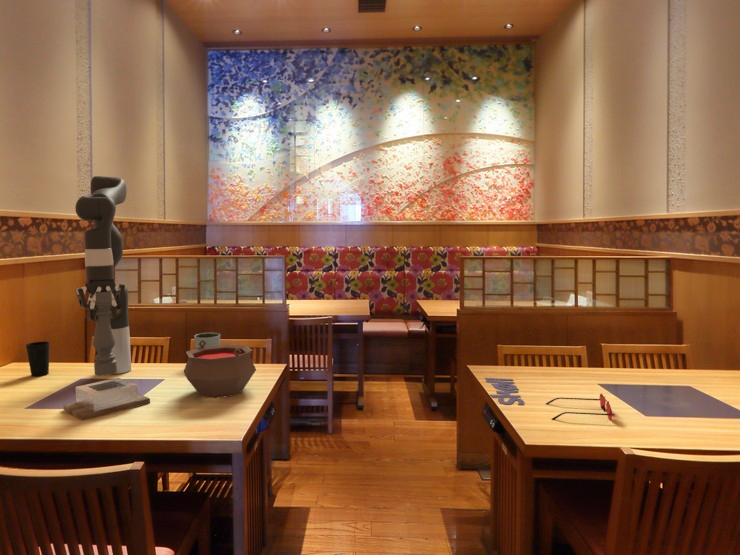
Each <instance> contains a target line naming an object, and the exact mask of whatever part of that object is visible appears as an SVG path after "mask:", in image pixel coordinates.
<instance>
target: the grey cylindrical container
mask: <svg viewBox="0 0 740 555" xmlns="http://www.w3.org/2000/svg"><path fill="white" fill-rule="evenodd" d="M193 339H194V347H195V348H194V349H197V348H200V347H201V346H200V345H199V343H200V342H201V340H202V339H203V340H204V341H205V342H206V344H205V346H214V345H221V333H219V332H201V333H197V334H195V335H193ZM201 344H202V345H203V344H204V343H203V342H202V343H201Z"/></svg>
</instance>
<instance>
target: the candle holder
mask: <svg viewBox="0 0 740 555" xmlns="http://www.w3.org/2000/svg"><path fill="white" fill-rule="evenodd" d="M94 294H95V293H94ZM94 294H93V295H91V298H93V296H94ZM95 298H96V301H95V306H94V309H95V331H94V334H93V341H92V346H93V348H94V349H95V350H96V353H97V354H96V355H95V357H94V363H93V368H94V375H95V376H109V375H115V374H114V373H116V372H117V363H116V360H114V358H115V355H114V354H113V353H112V351H113V349H112V348H113V347H114V345H115V339H114V336H113V333H112V329H111V326H110V314H111V313H112V310H110V309H109V307H110V305H111V302H112V294H111V291H108V292H107V291H105V292H97V293H96V297H95Z"/></svg>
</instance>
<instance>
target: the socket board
mask: <svg viewBox="0 0 740 555" xmlns="http://www.w3.org/2000/svg"><path fill="white" fill-rule="evenodd" d="M150 403H151V398H150V397H147V396H145V395H142V394H141V393H138V401H135V402H131V403H127V404H123V405H119V406H115V407H111V408H108V409H104V410H100V411H96V412H93V411H91V410H90V409H88V408H86V407H84V406H82V405H80V404H78V403H76V402H73V403H69V404H64V405H62V406H63V411H64V410H65V411H64V412H66V413H67V414H69V415H71V414H72V415H71V416H73V415H74V416H73V417H75V418H77V419H79V420H80V419H81V420H80V421H86V420H90V419H94V418H97V417H101V416H105V415H108V414H113V413H114V414H115V413H116V412H121V411H125V410H129V409H132V408H136V407H139V406H143V405H147V404H150Z"/></svg>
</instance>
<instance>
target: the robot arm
mask: <svg viewBox="0 0 740 555" xmlns="http://www.w3.org/2000/svg"><path fill="white" fill-rule="evenodd" d="M127 191H128V190H127V184H126V181H125V180H124V179H123V178H121V177H115V176H103V175H102V176H101V175H97V176H96V175H95V176H93V177H91V182H90V194H86V195H82V196H80V197H79V198H78V200H77V201H76V202H75V207H74V208H75V213H76V215H77V217H79V219H80V220H82V221H86V222H87V221H88V222H93V228H90V229H87V230H85V232H84V248H85V252H84V265H85V281H86V284H85V286H82V287H76V288H75V291H74V292H75V294H76V296H77V297H76V298H77V300H78V304H79V306H80V308H85V309H87V319H88V320H89V321H90V322H93V323H94V322H96V316H95V308H94V306H95V301H96V298H95V297H96V293H97V292H105V291H107V292H108V291H111V294H112V302H111V305H110V307H109V309H110V310H112V313H111V314H110V326H111V329H112V333H113V336H114V339H115V345H114V347H113V348H112V349H113V351H112V353H113V354H114V355H115V358H114V360H116V363H117V372H116V373H114V374H113V375H119V374H124V373H128V372H130V371H132V358H131V357H132V355H131V354H132V353H131V337H130V321H129V292H128V291H129V290H128V286H126V285H125V284H121V283H119V284H118V283H116V282H115V273H114V269H115V268H116V267H117V265H118V264H119V262H120V261H121V259H122V257H123V254H124V248H123V246H124V244H123V242H124V241H123V236H122V234H121V233H120V230H119V229H118V228H117V227H116V226H115V224H114V219H115V215H116V211H117V205H121V204H123V203H124V202H125V201H126V198H127ZM86 291H87V292H86ZM87 293H89V296H88V299H87V300H86V296H85V295H86V294H87ZM94 293H95V294H94ZM93 294H94V296H93V298H91V295H93ZM117 310H118V312H117Z"/></svg>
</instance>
